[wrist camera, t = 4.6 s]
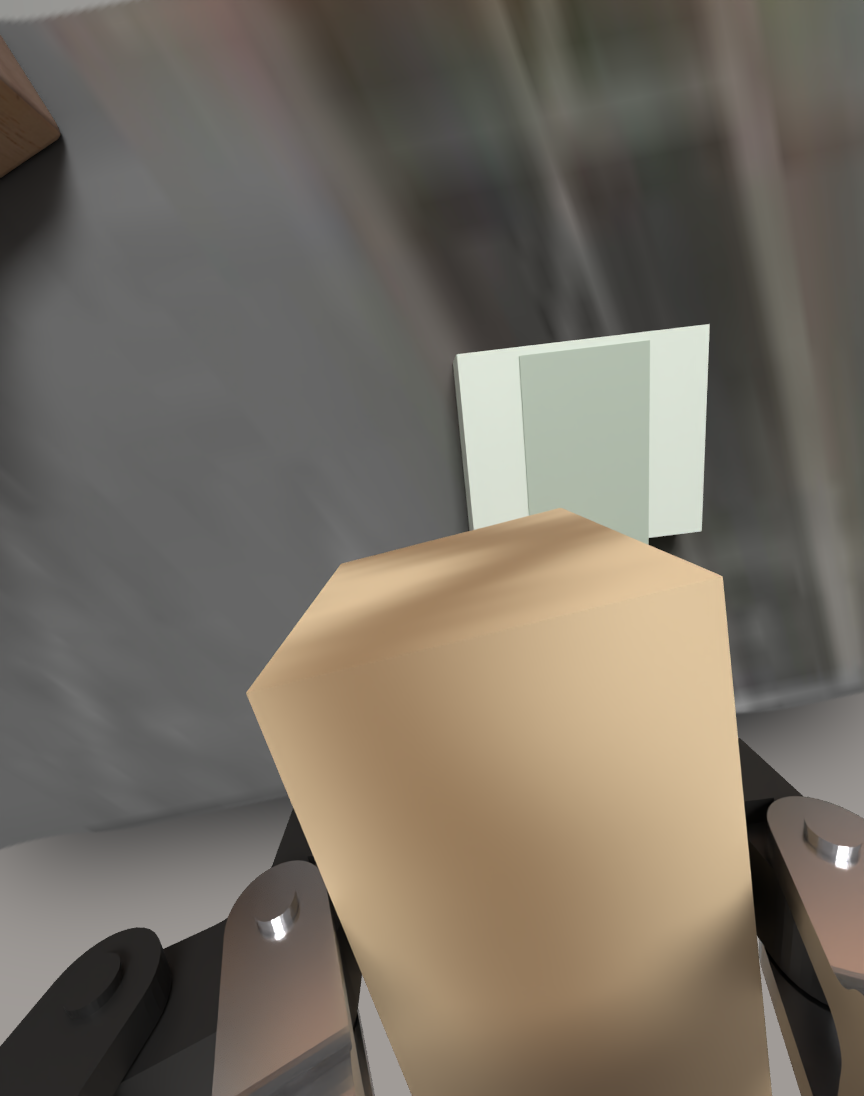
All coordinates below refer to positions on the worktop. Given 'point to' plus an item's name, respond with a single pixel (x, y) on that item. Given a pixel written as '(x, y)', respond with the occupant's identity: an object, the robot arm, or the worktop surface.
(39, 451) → the worktop surface
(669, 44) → the worktop surface
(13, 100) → the wooden block
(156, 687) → the worktop surface
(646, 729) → the tan rectangular block
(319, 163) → the worktop surface
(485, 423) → the pad
